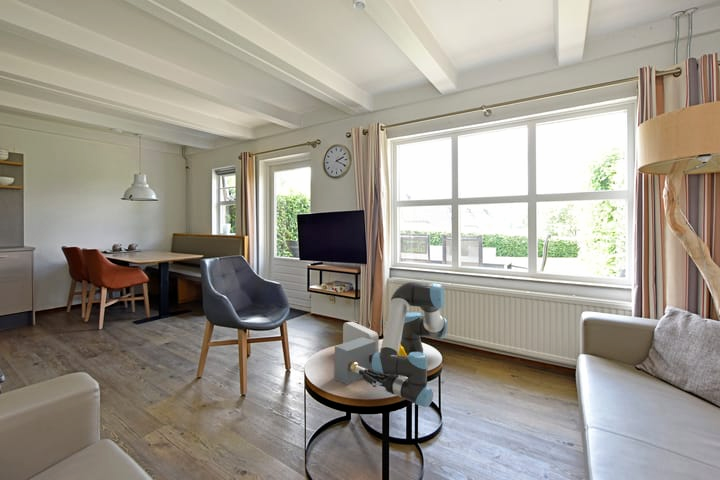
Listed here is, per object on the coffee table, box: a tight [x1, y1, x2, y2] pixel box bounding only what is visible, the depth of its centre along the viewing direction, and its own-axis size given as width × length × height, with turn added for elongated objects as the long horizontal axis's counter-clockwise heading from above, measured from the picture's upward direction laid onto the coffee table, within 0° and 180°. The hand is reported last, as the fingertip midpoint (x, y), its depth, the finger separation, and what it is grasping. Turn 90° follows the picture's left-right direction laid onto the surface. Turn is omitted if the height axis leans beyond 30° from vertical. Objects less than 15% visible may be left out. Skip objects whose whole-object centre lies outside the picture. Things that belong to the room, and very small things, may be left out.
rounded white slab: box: [342, 321, 379, 353], centre depth 184 cm, size 29×8×18 cm, turn 33°
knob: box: [348, 361, 359, 373], centre depth 155 cm, size 4×9×4 cm, turn 46°
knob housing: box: [333, 337, 376, 386], centre depth 162 cm, size 20×9×16 cm, turn 136°
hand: (356, 368), depth 151 cm, fingers closed
